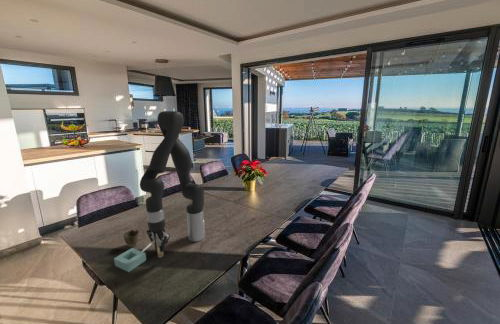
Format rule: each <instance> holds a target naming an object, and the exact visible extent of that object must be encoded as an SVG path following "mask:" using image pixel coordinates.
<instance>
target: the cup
mask: <svg viewBox="0 0 500 324" xmlns="http://www.w3.org/2000/svg"><path fill="white" fill-rule="evenodd" d="M122 236H123V238H124V242H125V244H126V245H127V246H128V247H129V248H135V247H136V246H137V243H138V241H139V230H138V229H137V230H134V229H131V230H128V231H125V232H124V233H123V235H122Z"/></svg>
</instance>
